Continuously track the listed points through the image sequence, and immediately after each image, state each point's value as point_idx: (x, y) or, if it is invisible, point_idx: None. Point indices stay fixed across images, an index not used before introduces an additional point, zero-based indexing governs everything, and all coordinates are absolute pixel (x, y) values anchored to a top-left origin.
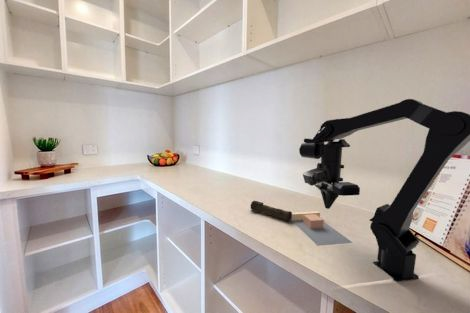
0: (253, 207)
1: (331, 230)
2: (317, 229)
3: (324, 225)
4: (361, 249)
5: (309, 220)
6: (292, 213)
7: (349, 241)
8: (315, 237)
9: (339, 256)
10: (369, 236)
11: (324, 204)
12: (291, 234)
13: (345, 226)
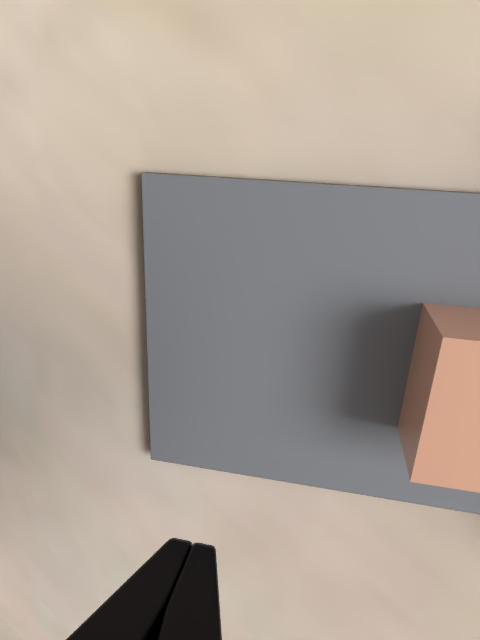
0: None
1: (332, 456)
2: (386, 360)
3: None
4: (92, 448)
5: (471, 336)
6: None
7: (160, 448)
8: (259, 242)
9: (29, 256)
10: None
11: (211, 592)
12: (408, 28)
13: (376, 600)
